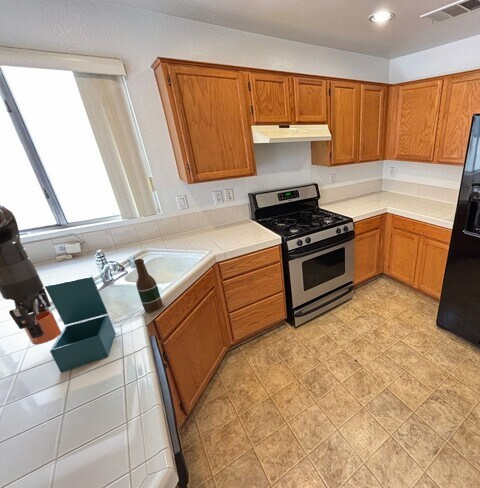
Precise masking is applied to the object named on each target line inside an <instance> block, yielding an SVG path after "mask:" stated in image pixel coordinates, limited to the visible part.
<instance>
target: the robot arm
mask: <svg viewBox="0 0 480 488" xmlns="http://www.w3.org/2000/svg"><path fill="white" fill-rule="evenodd" d="M0 294H1V296H2V298H3V299H4V300H8V301H9V300H11V301H13V302H14V306H15V309H14V308H13V309H11V310H9V311H8V313H9V316H10V317H11V318H12V320H13V321H14V323H15V324H16V325H17V327H18V329H19V330H24V328H27V329H28V331H29V333H30V335H31V337H32V338H37V337H40V336H42V335H43V334H44V333H43V331H42V329H41V327H40V325H39V323H38V319H37V316H38V315H39V313H40V312H44V311H50V308H51V302H50V300H49V297H48V293H47V291H46V288H45V287H44V284H43V282H42V279H41V277H40V275H39V273H38V271H37V269H36V267H35V265H34V263H33V262H32V261H31V259H30V258H29V256H28V252H27V250H26V249H25V247H24V245H23V244H22V241H21V236H20V230H19V226H18V222H17V219H16V217H15V214H14V213H13V211H12V210H11V209H10V208H9V207H8V206H7V205H4V204H3V203H0ZM31 317H32V319H33V320H32V319H31ZM22 321H23V323H22Z"/></svg>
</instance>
